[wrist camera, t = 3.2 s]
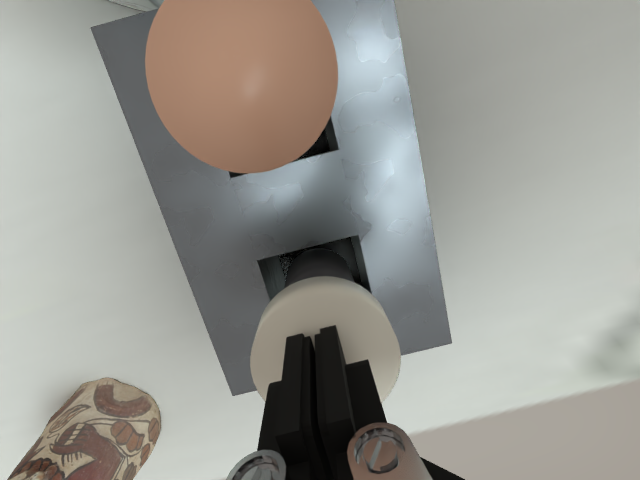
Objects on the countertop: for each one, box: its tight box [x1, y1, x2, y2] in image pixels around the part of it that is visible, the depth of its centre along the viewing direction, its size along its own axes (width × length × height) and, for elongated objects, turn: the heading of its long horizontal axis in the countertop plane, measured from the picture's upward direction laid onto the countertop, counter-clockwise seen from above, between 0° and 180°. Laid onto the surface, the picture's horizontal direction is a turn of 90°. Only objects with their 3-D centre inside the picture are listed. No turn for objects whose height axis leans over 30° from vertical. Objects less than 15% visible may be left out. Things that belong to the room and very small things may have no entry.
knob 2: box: [250, 248, 401, 403], centre depth 15 cm, size 5×5×8 cm
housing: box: [91, 0, 452, 396], centre depth 18 cm, size 12×18×6 cm, turn 14°
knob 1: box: [145, 0, 338, 173], centre depth 12 cm, size 5×5×8 cm
